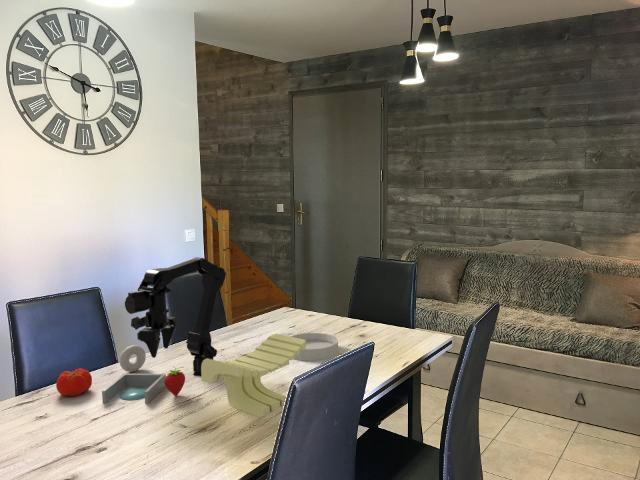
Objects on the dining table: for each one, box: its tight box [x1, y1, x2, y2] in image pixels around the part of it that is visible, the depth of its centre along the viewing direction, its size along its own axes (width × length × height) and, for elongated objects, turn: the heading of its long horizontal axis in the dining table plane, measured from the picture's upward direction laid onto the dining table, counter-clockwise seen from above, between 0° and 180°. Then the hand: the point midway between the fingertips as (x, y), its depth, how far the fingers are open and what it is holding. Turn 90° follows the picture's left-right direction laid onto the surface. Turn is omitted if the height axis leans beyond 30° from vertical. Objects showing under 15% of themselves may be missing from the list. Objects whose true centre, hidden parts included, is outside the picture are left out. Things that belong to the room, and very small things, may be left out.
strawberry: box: [164, 365, 186, 397], centre depth 168 cm, size 6×8×10 cm
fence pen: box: [101, 373, 167, 405], centre depth 171 cm, size 15×15×4 cm
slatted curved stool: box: [201, 333, 306, 418], centre depth 161 cm, size 30×16×18 cm, turn 143°
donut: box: [119, 344, 147, 373], centre depth 191 cm, size 10×4×10 cm, turn 138°
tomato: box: [55, 368, 93, 397], centre depth 172 cm, size 11×11×8 cm
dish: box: [290, 332, 340, 362], centre depth 209 cm, size 22×22×5 cm
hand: (160, 352), depth 173 cm, fingers open, 9 cm apart
